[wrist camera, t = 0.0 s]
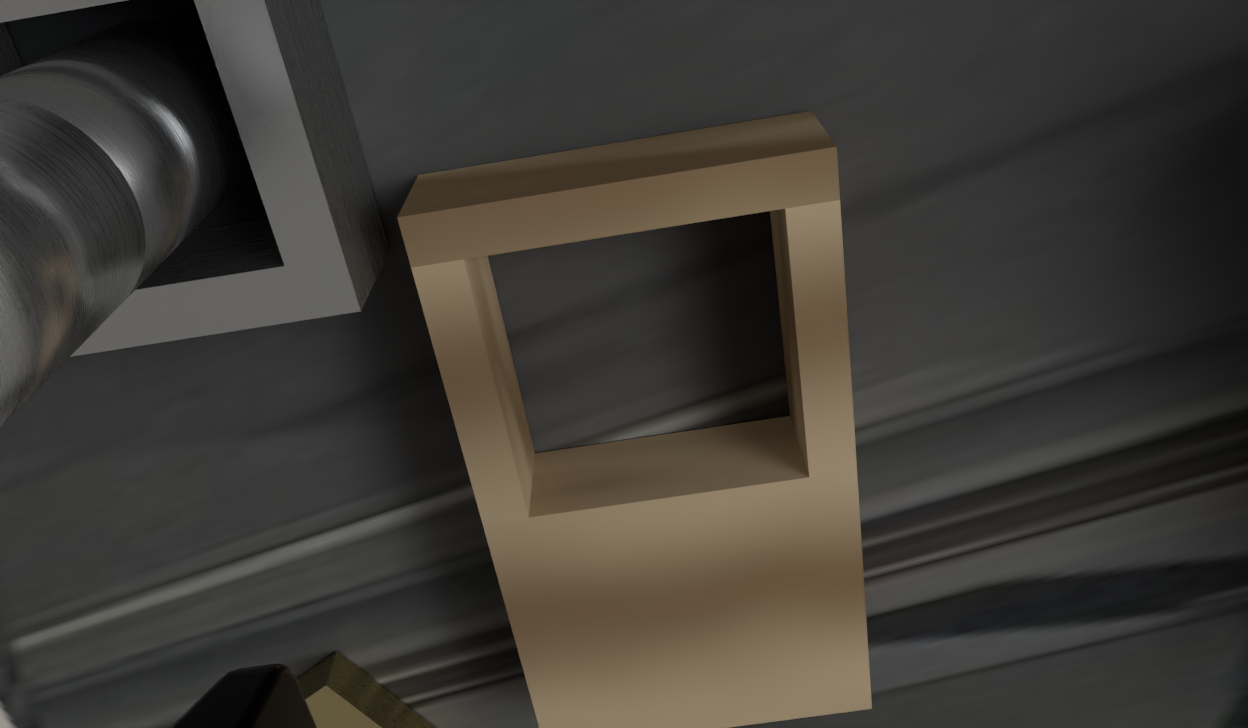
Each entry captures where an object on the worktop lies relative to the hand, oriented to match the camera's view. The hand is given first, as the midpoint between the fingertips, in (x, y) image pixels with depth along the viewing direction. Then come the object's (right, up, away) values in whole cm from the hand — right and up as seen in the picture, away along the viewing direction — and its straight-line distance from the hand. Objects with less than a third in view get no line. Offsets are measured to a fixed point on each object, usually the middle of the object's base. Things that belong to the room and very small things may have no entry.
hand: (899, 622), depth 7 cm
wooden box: (-1, 0, +17) cm, 17 cm away
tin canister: (-11, +7, +13) cm, 18 cm away
